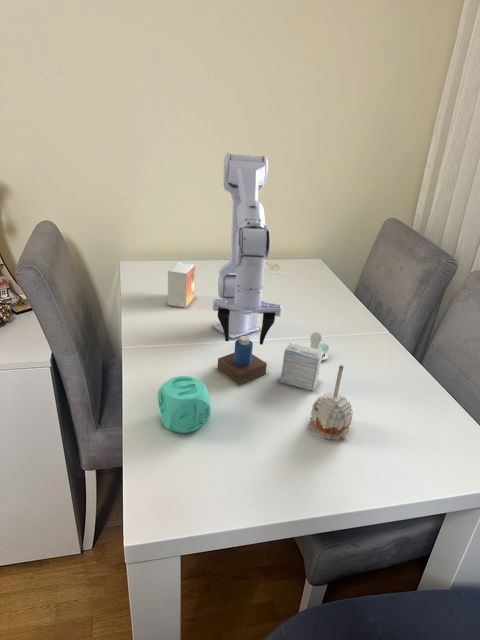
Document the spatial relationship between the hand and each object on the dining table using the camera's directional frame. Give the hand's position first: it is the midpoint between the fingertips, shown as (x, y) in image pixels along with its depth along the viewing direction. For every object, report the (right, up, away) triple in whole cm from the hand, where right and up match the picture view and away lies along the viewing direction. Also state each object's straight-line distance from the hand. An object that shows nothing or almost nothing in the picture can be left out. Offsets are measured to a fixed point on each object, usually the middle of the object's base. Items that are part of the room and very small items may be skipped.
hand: (244, 340), depth 110 cm
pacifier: (+17, -4, +14) cm, 22 cm away
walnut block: (-1, -7, +4) cm, 8 cm away
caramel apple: (+17, -18, -11) cm, 27 cm away
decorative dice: (-11, -16, -13) cm, 24 cm away
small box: (-20, +12, +34) cm, 41 cm away
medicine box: (+12, -10, +3) cm, 16 cm away
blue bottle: (0, -5, +3) cm, 5 cm away
